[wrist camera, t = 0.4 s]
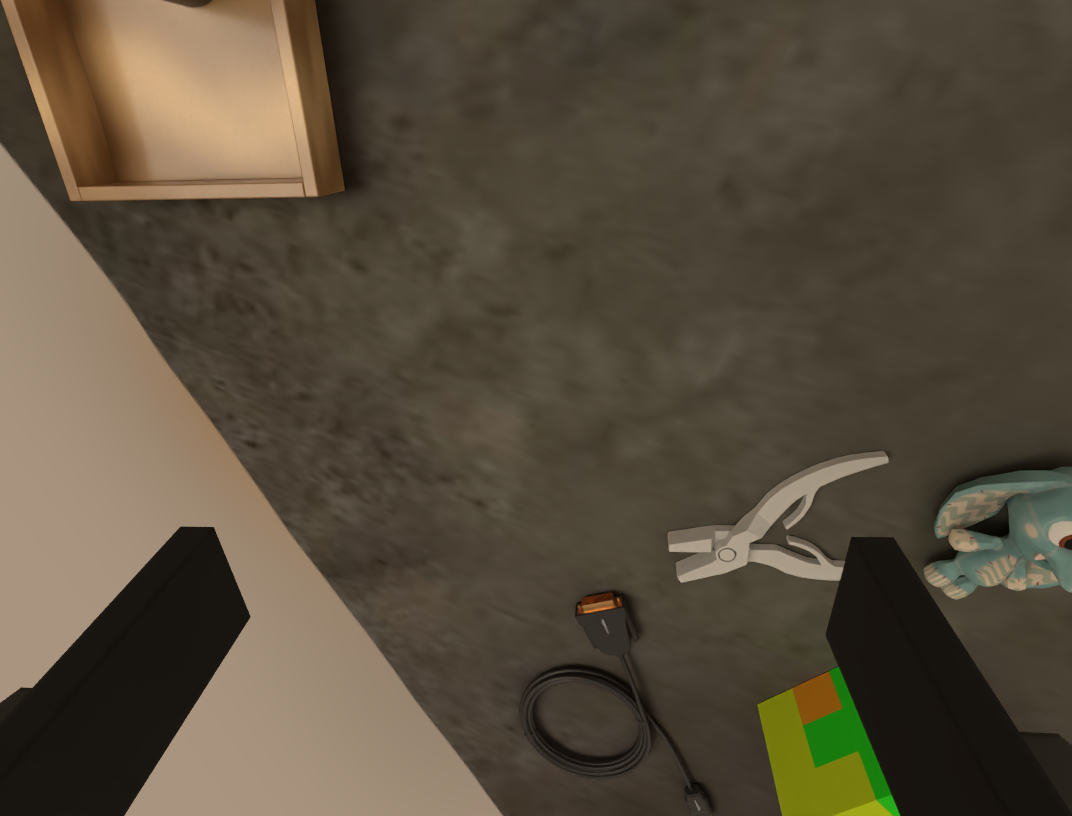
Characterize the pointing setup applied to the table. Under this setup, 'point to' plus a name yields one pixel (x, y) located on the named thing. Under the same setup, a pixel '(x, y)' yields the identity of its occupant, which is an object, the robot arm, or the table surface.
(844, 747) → the puzzle toy
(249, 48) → the storage box
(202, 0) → the red squeeze bottle
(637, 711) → the cable
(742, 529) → the pliers
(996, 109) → the table surface
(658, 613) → the table surface
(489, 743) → the table surface
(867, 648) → the robot arm
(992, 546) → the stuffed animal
